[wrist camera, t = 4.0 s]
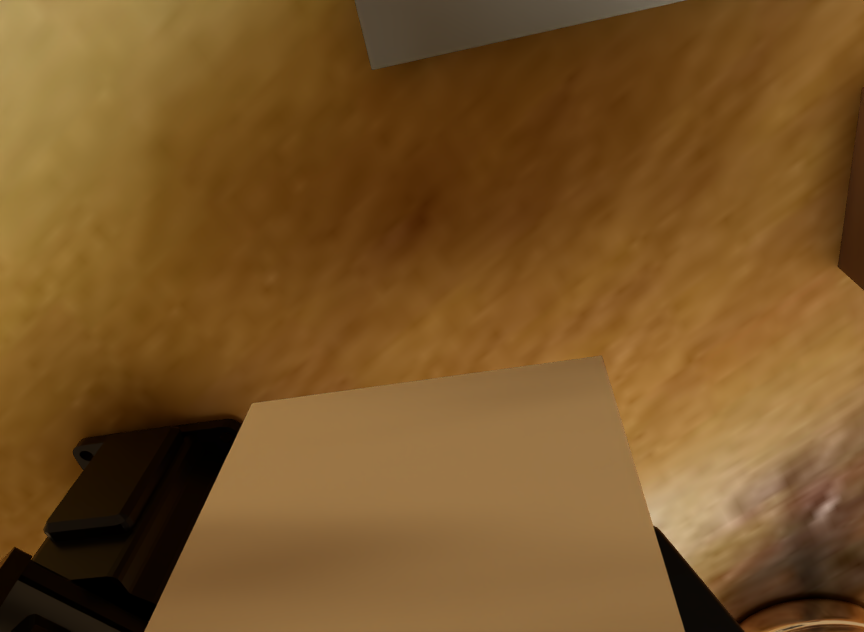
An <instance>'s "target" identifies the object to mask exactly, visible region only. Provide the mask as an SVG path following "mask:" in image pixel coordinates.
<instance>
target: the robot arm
mask: <svg viewBox="0 0 864 632" xmlns="http://www.w3.org/2000/svg"><path fill="white" fill-rule="evenodd" d="M241 426H242V425H241V424H240V423H239V422H237V421H235V420H232V419H222V420H215V421H208V422H200V423H193V424H186V425H178V426H169V427H162V428H154V429H147V430H140V431H132V432H125V433H118V434H111V435H105V436H97V437H90V438H85V439H82V440H81V441H80V442H79V443H78V444H77V446H76V447H75V448H74V450H73V455H74V457H75V459H76V460H77V462H78V463H79V465H80V466H81V468H82V469H83V470H84V471H83V472H82V473H81V475H80V476H79V477H78V479H77V480H76V482H75V483H74V484H73V486H72V487H71V488H70V490H69V491H68V493H67V494H66V495H65V497H64V498H63V500H62V501H61V502H60V504H59V505H58V506H57V508H56V509H55V511H54V512H53V513H52V515H51V516H50V517H49V519H48V520H47V522H46V524H45V527H44V529H43V530H44V532H45V534H46V535H47V536H48V537H47V538H46V540H45V541H44V542H43V544H42V545H41V547H40V548H39V550H38V551H37V552H36V554H35V555H34V557H33V558H32V556H31V555H29V554H27V553H25V552H24V551H22V550H20V549H18V548H16V547H14V548H13V549H12V550H11V551H10V552H9V553H8V554H7V555H6V556H5V557H4V558H3V560H2V561H1V562H0V632H144V631H145V629H146V627H147V625H148V623H149V621H150V619H151V616H152V614H153V612H154V610H155V608H156V606H157V604H158V602H159V600H160V597H161V595H162V593H163V591H164V589H165V587H166V585H167V583H168V580H169V578H170V576H171V574H172V572H173V570H174V568H175V566H176V563H177V561H178V559H179V557H180V555H181V553H182V551H183V549H184V546H185V544H186V542H187V540H188V538H189V536H190V534H191V532H192V530H193V527H194V525H195V523H196V521H197V519H198V517H199V515H200V513H201V510H202V508H203V506H204V504H205V502H206V500H207V498H208V496H209V493H210V491H211V489H212V487H213V485H214V483H215V481H216V479H217V477H218V474H219V472H220V470H221V468H222V466H223V464H224V462H225V460H226V457H227V455H228V453H229V451H230V449H231V447H232V445H233V443H234V440H235V438H236V436H237V434H238V432H239V430H240V428H241ZM226 432H228V433H230V434H232V435H229V434H227V433H226ZM653 527H654V531H655V534H656V537H657V541H658V544H659V547H660V550H661V554H662V557H663V560H664V564H665V567H666V570H667V574H668V577H669V580H670V584H671V587H672V590H673V594H674V597H675V600H676V604H677V607H678V610H679V614H680V617H681V620H682V623H683V627H684V630H685V632H745V631H744V630H743V629H742V628H741V627H740V625H739V624H738V623H737V622H736V621H735V619H734V618H733V617H732V616H731V615H730V613H729V612H728V611H727V610H726V609H725V607H724V606H723V605H722V604H721V603H720V601H719V600H718V599H717V598H716V597H715V595H714V594H713V593H712V592H711V591H710V589H709V588H708V587H707V586H706V585H705V583H704V582H703V581H702V580H701V579H700V577H699V576H698V575H697V574H696V573H695V571H694V570H693V569H692V568H691V567H690V565H689V564H688V563H687V562H686V561H685V559H684V558H683V557H682V556H681V555H680V553H679V552H678V551H677V550H676V549H675V547H674V546H673V545H672V544H671V543H670V541H669V540H668V539H667V538H666V536H665V535H664V534H663V533H662V532H661V531H660V530H659V529H658V528H657V527H655V526H653ZM31 558H32V560H31Z"/></svg>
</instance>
